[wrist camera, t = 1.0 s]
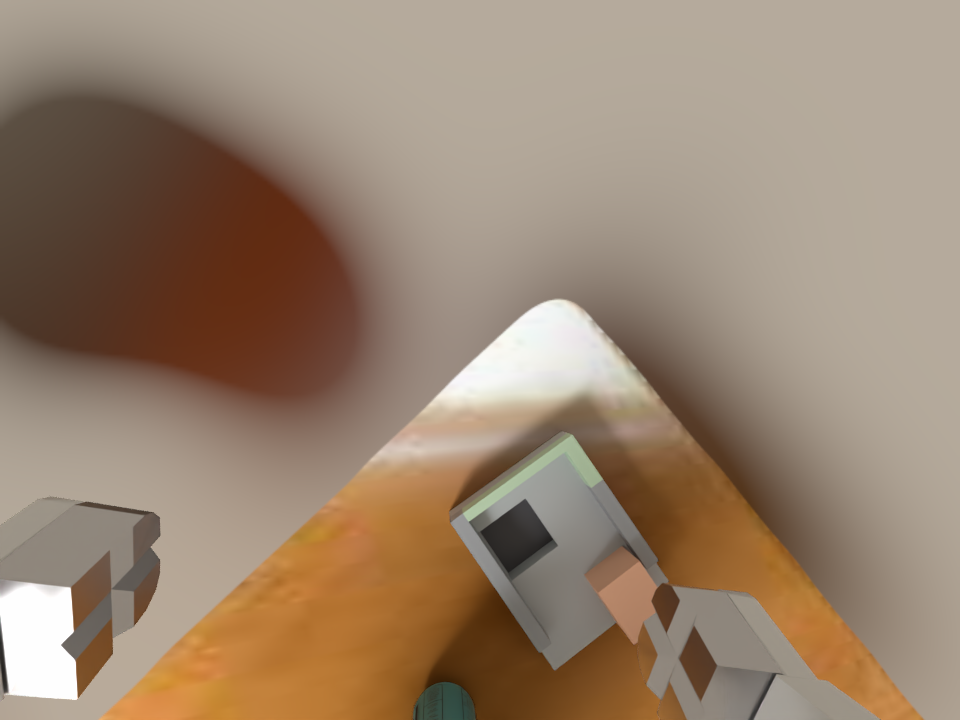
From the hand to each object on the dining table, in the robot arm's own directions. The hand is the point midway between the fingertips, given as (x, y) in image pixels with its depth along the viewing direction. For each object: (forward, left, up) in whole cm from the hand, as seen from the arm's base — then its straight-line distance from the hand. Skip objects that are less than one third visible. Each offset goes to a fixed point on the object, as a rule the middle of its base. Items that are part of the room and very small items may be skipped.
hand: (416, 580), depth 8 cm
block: (-25, -6, -42) cm, 49 cm away
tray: (-18, -3, -44) cm, 48 cm away
